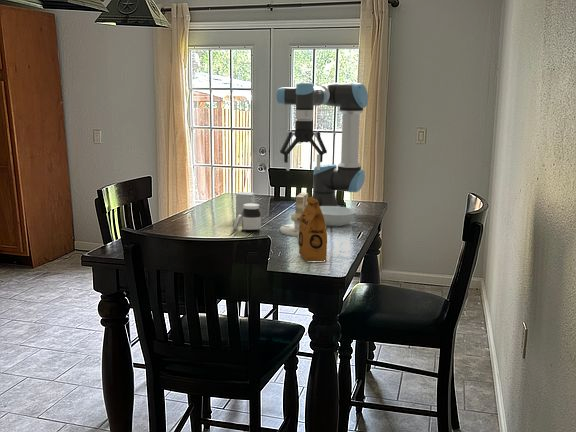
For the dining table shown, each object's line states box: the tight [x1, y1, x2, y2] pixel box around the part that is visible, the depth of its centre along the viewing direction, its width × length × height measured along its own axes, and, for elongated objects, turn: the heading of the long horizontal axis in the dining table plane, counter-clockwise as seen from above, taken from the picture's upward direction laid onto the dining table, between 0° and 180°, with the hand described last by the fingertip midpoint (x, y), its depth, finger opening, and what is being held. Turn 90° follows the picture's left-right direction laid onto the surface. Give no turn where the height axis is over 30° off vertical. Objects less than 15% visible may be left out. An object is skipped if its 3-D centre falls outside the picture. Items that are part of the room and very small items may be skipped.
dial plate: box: [279, 221, 300, 237], centre depth 249 cm, size 18×18×5 cm
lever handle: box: [290, 192, 309, 222], centre depth 247 cm, size 12×9×11 cm
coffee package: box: [297, 196, 328, 262], centre depth 206 cm, size 10×12×22 cm
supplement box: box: [235, 191, 256, 222], centre depth 270 cm, size 7×7×13 cm
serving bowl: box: [320, 205, 356, 228], centre depth 264 cm, size 21×21×7 cm
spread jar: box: [232, 202, 262, 234], centre depth 248 cm, size 12×11×12 cm
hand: (303, 170), depth 247 cm, fingers open, 13 cm apart
